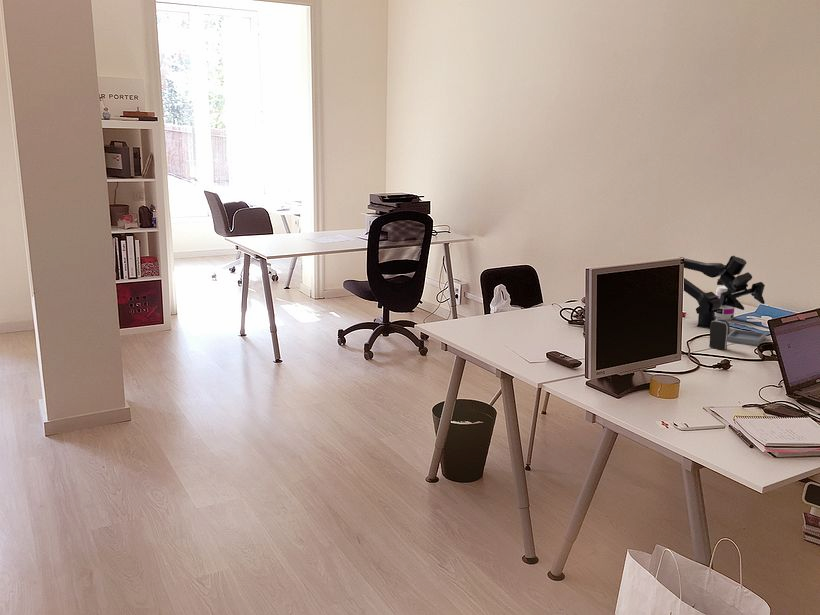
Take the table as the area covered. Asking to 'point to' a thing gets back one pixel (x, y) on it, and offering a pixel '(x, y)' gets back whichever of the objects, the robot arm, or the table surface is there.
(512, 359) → the table surface
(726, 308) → the supplement can
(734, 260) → the robot arm
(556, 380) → the table surface
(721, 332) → the battery
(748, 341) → the tray
